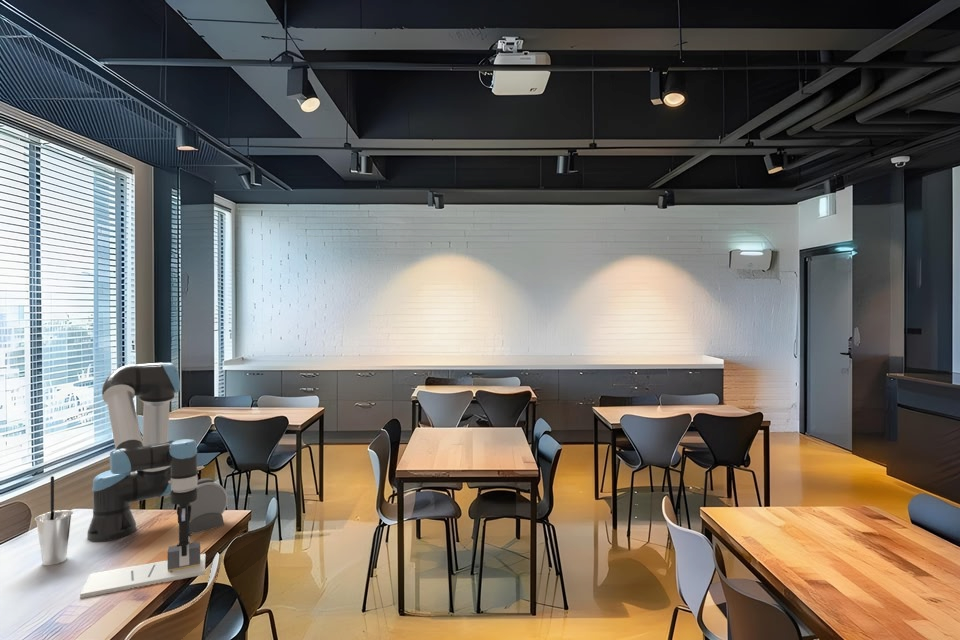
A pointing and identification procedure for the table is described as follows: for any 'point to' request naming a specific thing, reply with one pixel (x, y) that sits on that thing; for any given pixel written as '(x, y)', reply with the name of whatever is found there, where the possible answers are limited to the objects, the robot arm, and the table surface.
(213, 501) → the alarm clock
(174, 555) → the block
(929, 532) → the table surface
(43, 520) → the metal cup with straw
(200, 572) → the board
